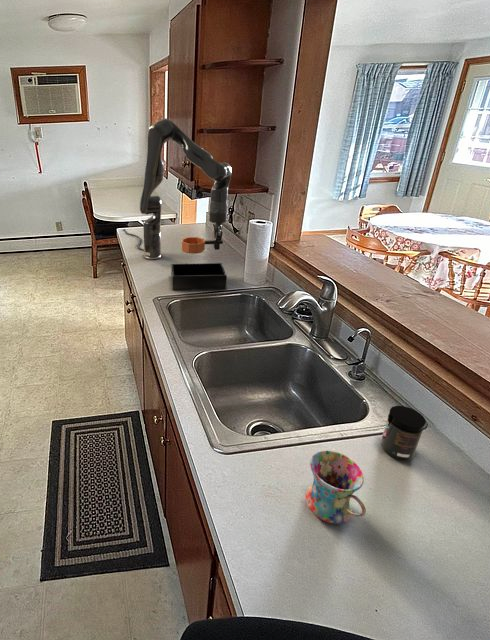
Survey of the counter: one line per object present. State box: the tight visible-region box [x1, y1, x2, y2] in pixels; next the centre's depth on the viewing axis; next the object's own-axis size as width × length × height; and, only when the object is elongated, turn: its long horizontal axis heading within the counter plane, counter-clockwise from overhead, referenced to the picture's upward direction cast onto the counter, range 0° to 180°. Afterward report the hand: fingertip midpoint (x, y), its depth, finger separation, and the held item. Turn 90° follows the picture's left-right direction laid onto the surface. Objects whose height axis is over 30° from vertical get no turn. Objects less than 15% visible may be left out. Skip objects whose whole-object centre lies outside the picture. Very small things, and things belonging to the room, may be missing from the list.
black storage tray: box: [170, 262, 227, 291], centre depth 179 cm, size 15×24×7 cm, turn 86°
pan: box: [181, 236, 224, 255], centre depth 175 cm, size 18×10×4 cm, turn 86°
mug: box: [304, 450, 367, 525], centre depth 77 cm, size 12×9×11 cm
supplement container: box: [380, 405, 427, 461], centre depth 90 cm, size 7×7×10 cm
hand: (216, 248), depth 175 cm, fingers closed on pan
